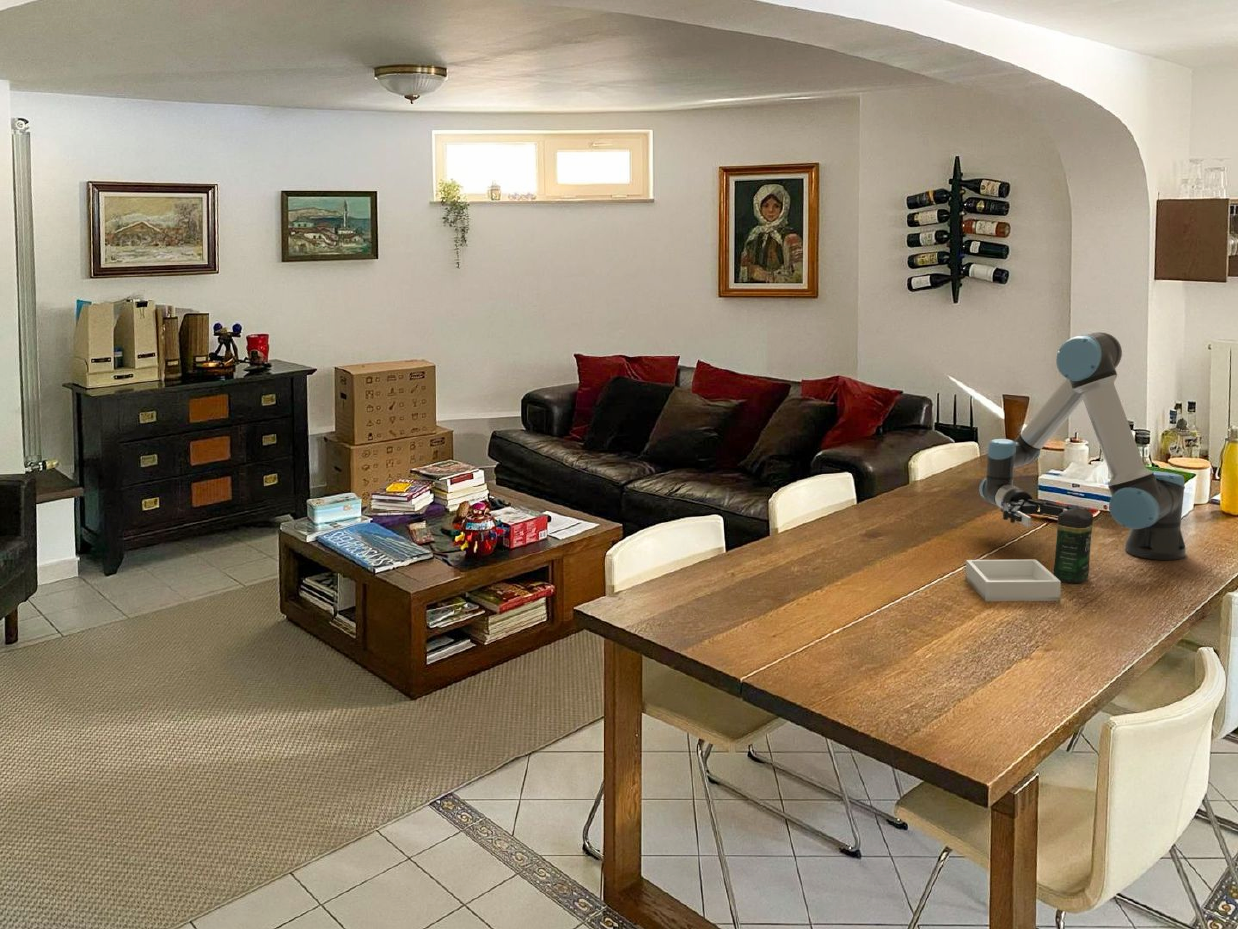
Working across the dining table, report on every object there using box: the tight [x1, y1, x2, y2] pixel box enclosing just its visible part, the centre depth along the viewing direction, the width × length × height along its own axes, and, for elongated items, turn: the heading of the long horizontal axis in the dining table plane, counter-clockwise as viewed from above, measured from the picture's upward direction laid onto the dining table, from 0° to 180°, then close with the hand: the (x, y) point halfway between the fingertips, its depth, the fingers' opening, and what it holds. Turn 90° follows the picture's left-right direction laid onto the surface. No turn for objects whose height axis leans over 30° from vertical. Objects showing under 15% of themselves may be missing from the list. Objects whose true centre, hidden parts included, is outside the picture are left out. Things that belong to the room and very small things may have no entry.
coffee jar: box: [1052, 507, 1094, 584], centre depth 277 cm, size 10×8×19 cm
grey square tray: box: [964, 559, 1062, 602], centre depth 272 cm, size 18×18×5 cm
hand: (1053, 521), depth 286 cm, fingers open, 13 cm apart
